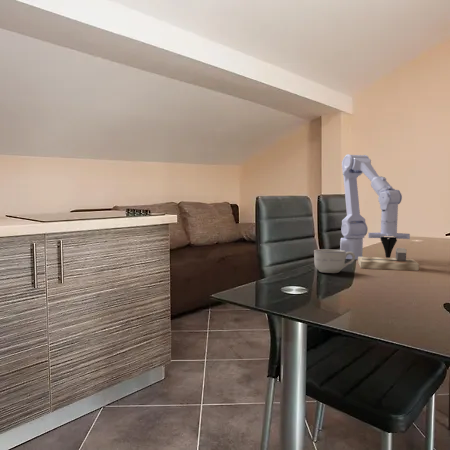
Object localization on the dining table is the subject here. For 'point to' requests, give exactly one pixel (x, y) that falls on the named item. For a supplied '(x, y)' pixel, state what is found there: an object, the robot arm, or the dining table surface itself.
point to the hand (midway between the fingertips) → (387, 257)
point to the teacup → (331, 260)
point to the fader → (401, 254)
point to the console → (387, 263)
